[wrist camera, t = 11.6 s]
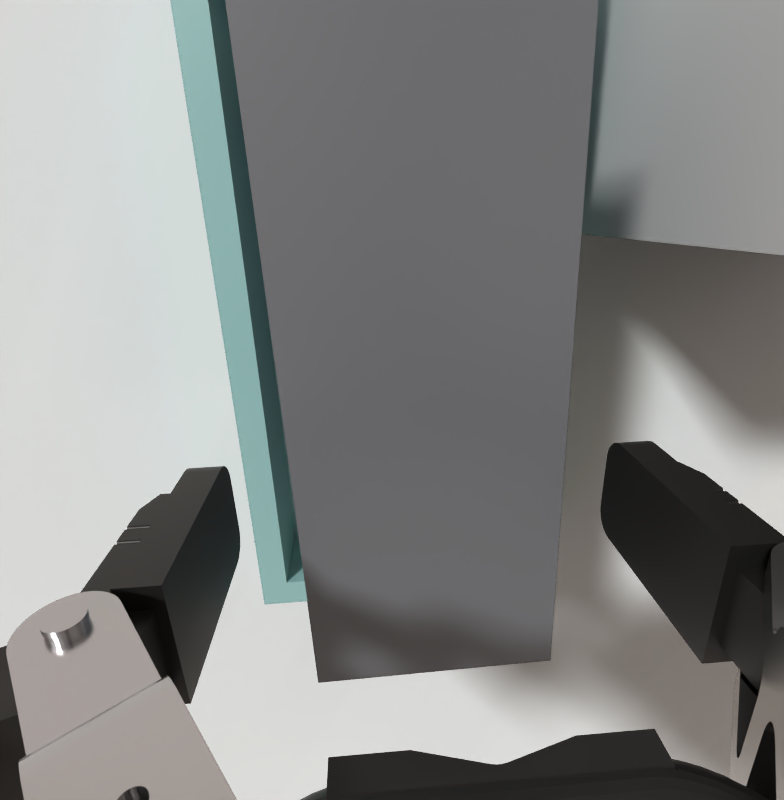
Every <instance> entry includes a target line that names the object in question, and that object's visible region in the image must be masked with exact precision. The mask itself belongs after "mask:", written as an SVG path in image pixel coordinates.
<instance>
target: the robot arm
mask: <svg viewBox="0 0 784 800" xmlns="http://www.w3.org/2000/svg"><path fill="white" fill-rule="evenodd" d="M601 520H602V525H603V528H604V531H605V533H606V535H607V537H608V538H609V539H610V541H611V542H612V543H613V545H614V546H615V548H616V549H617V550H618V552H619V553H620V554H621V556H622V557H623V558H624V560H625V561H626V562H627V564H628V565H629V566H630V568H631V569H632V570H633V572H634V573H635V574H636V576H637V577H638V578H639V580H640V581H641V582H642V584H643V585H644V586H645V588H646V589H647V590H648V592H649V593H650V594H651V596H652V597H653V598H654V600H655V601H656V602H657V604H658V605H659V606H660V608H661V609H662V611H663V612H664V613H665V615H666V616H667V617H668V619H669V620H670V621H671V623H672V624H673V625H674V627H675V628H676V629H677V631H678V632H679V633H680V635H681V636H682V637H683V639H684V640H685V641H686V643H687V644H688V645H689V647H690V648H691V649H692V651H693V652H694V653H695V655H696V656H697V657H698V659H699V660H700V661H701V663H714V662H727V661H733V662H734V663H735V664H736V665H737V667H738V668H739V669H738V673H737V676H736V680H735V685H734V700H733V717H732V735H731V752H730V770H729V778H728V777H726V776H724V775H721V774H718V773H716V772H713V771H711V770H708V769H706V768H703V767H700V766H697V765H693V764H690V763H686V762H683V761H679V760H674V759H671V757H670V756H669V754H668V752H667V750H666V749H665V747H664V745H663V743H662V741H661V740H660V738H659V736H658V734H657V733H656V731H655V729H647V730H635V731H624V732H613V733H601V734H590V735H578V736H574V737H572V738H569V739H566V740H564V741H561V742H559V743H556V744H554V745H551V746H549V747H546V748H544V749H541V750H539V751H536V752H533V753H531V754H528V755H526V756H523V757H521V758H518V759H516V760H513V761H511V762H508V763H505V764H499V765H494V764H486V763H480V762H475V761H469V760H463V759H458V758H452V757H446V756H440V755H435V754H429V753H423V752H418V751H412V750H407V751H396V752H384V753H373V754H362V755H350V756H339V757H329V758H328V777H327V788H325V789H323V790H320V791H317V792H315V793H312V794H310V795H309V796H307V797H305V798H303V799H301V800H784V536H783V535H782V534H780V533H779V532H778V531H777V530H775V529H774V528H773V527H772V526H770V525H769V524H768V523H766V522H765V521H764V520H763V519H761V518H760V517H759V516H757V515H756V514H755V513H754V512H752V511H751V510H750V509H749V508H747V507H746V506H745V505H743V504H739V503H738V500H737V499H736V498H735V497H733V496H732V495H731V494H729V493H728V492H727V491H723V488H722V487H721V486H719V485H718V484H717V483H715V482H714V481H713V480H712V479H710V478H709V477H708V476H707V475H705V474H704V473H702V472H699V471H697V470H695V469H693V468H691V467H688V466H686V465H684V464H682V463H680V462H677V461H676V460H675V459H673V458H672V457H671V456H670V455H668V454H667V453H666V452H665V451H664V450H662V449H661V448H660V447H659V446H657V445H656V444H655V443H653V442H651V441H640V442H624V443H614V444H612V445H611V446H610V448H609V450H608V454H607V461H606V469H605V477H604V485H603V492H602V500H601ZM239 552H240V532H239V526H238V520H237V514H236V508H235V502H234V497H233V491H232V485H231V479H230V475H229V472H228V469H227V468H226V467H225V466H221V467H205V468H189V469H187V470H186V471H185V472H184V473H183V475H182V477H181V478H180V480H179V481H178V483H177V484H176V486H175V488H174V489H173V491H172V492H171V494H160V495H159V496H157V497H156V498H155V499H153V500H152V501H150V502H149V503H148V504H146V505H145V506H144V507H142V508H141V509H139V511H138V512H137V514H136V515H135V516H134V518H133V519H132V521H131V522H130V523H129V525H128V526H127V530H125V531H124V532H123V533H122V535H121V536H120V538H119V539H118V540H117V545H114V546H113V547H112V549H111V550H110V552H109V553H108V555H107V556H106V557H105V559H104V560H103V562H102V563H101V564H100V566H99V567H98V569H97V570H96V571H95V573H94V574H93V576H92V577H91V578H90V580H89V581H88V583H87V584H86V586H85V587H84V588H83V590H82V591H81V593H77V594H73V595H70V596H66V597H64V598H61V599H59V600H56V601H54V602H52V603H50V604H48V605H46V606H45V607H43V608H41V609H39V610H38V611H37V612H35V613H34V614H32V615H31V616H30V617H28V618H27V619H26V620H25V621H24V622H23V623H22V624H21V625H20V626H19V627H18V628H17V629H16V630H15V632H14V633H13V634H12V636H11V638H10V639H9V641H8V644H7V646H4V647H1V648H0V800H237V799H236V797H235V795H234V793H233V792H232V790H231V788H230V786H229V784H228V782H227V781H226V779H225V777H224V775H223V773H222V771H221V769H220V768H219V766H218V764H217V762H216V760H215V758H214V757H213V755H212V753H211V751H210V749H209V747H208V746H207V744H206V742H205V740H204V738H203V736H202V734H201V733H200V731H199V729H198V727H197V725H196V723H195V722H194V720H193V718H192V716H191V714H190V712H189V711H188V709H187V707H186V705H185V704H189V703H191V701H192V698H193V695H194V692H195V689H196V686H197V683H198V680H199V677H200V674H201V671H202V668H203V665H204V662H205V659H206V656H207V653H208V650H209V647H210V644H211V641H212V638H213V635H214V632H215V629H216V626H217V623H218V620H219V617H220V614H221V611H222V608H223V605H224V602H225V599H226V596H227V593H228V590H229V587H230V584H231V581H232V578H233V575H234V572H235V569H236V566H237V562H238V558H239Z"/></svg>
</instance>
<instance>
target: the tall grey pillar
mask: <svg viewBox="0 0 784 800" xmlns="http://www.w3.org/2000/svg"><path fill="white" fill-rule="evenodd" d="M598 1H599V0H225V2H226V10H227V17H228V24H229V32H230V39H231V46H232V54H233V61H234V68H235V76H236V83H237V90H238V98H239V105H240V112H241V120H242V127H243V134H244V141H245V149H246V156H247V163H248V171H249V178H250V185H251V193H252V200H253V207H254V215H255V222H256V229H257V237H258V244H259V251H260V259H261V266H262V273H263V281H264V288H265V295H266V302H267V310H268V317H269V324H270V332H271V339H272V346H273V354H274V361H275V368H276V376H277V383H278V390H279V398H280V405H281V412H282V420H283V427H284V434H285V442H286V449H287V456H288V463H289V471H290V478H291V485H292V493H293V500H294V507H295V515H296V522H297V529H298V537H299V544H300V551H301V559H302V566H303V573H304V581H305V588H306V595H307V603H308V610H309V617H310V624H311V632H312V639H313V646H314V654H315V661H316V668H317V676H318V683H320V682H330V681H341V680H351V679H361V678H372V677H382V676H393V675H403V674H413V673H424V672H434V671H445V670H455V669H465V668H476V667H486V666H496V665H507V664H517V663H528V662H538V661H548V660H550V658H551V644H552V631H553V617H554V603H555V589H556V576H557V562H558V548H559V535H560V521H561V507H562V494H563V480H564V466H565V453H566V439H567V425H568V412H569V398H570V384H571V370H572V357H573V343H574V329H575V316H576V302H577V288H578V275H579V261H580V247H581V234H582V220H583V206H584V193H585V179H586V165H587V151H588V138H589V124H590V110H591V97H592V83H593V69H594V56H595V42H596V28H597V15H598Z"/></svg>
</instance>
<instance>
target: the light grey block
mask: <svg viewBox="0 0 784 800" xmlns="http://www.w3.org/2000/svg"><path fill="white" fill-rule="evenodd" d="M582 234H585V235H595V236H604V237H614V238H623V239H633V240H642V241H652V242H661V243H671V244H680V245H690V246H699V247H709V248H718V249H728V250H737V251H747V252H756V253H766V254H775V255H784V0H599V1H598V15H597V28H596V42H595V56H594V69H593V83H592V97H591V110H590V124H589V138H588V151H587V165H586V179H585V193H584V206H583V220H582Z"/></svg>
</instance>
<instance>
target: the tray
mask: <svg viewBox="0 0 784 800" xmlns="http://www.w3.org/2000/svg"><path fill="white" fill-rule="evenodd" d="M170 1H171V7H172V14H173V20H174V27H175V33H176V39H177V46H178V52H179V59H180V65H181V71H182V78H183V84H184V91H185V97H186V104H187V110H188V116H189V123H190V129H191V136H192V142H193V148H194V155H195V161H196V168H197V174H198V180H199V187H200V193H201V200H202V206H203V212H204V219H205V225H206V232H207V238H208V244H209V251H210V257H211V264H212V270H213V276H214V283H215V289H216V296H217V302H218V308H219V315H220V321H221V328H222V334H223V340H224V347H225V353H226V360H227V366H228V372H229V379H230V385H231V392H232V398H233V405H234V411H235V417H236V424H237V430H238V437H239V443H240V449H241V456H242V462H243V469H244V475H245V481H246V488H247V494H248V501H249V507H250V513H251V520H252V526H253V533H254V539H255V545H256V552H257V558H258V565H259V571H260V577H261V584H262V590H263V597H264V603H265V604H276V603H289V602H302V601H307V595H306V588H305V581H304V573H303V566H302V559H301V551H300V544H299V537H298V529H297V522H296V515H295V507H294V500H293V493H292V485H291V478H290V471H289V463H288V456H287V449H286V442H285V434H284V427H283V420H282V412H281V405H280V398H279V390H278V383H277V376H276V368H275V361H274V354H273V346H272V339H271V332H270V324H269V317H268V310H267V302H266V295H265V288H264V281H263V273H262V266H261V259H260V251H259V244H258V237H257V229H256V222H255V215H254V207H253V200H252V193H251V185H250V178H249V171H248V163H247V156H246V149H245V141H244V134H243V127H242V120H241V112H240V105H239V98H238V90H237V83H236V76H235V68H234V61H233V54H232V46H231V39H230V32H229V24H228V17H227V10H226V2H225V0H170Z"/></svg>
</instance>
